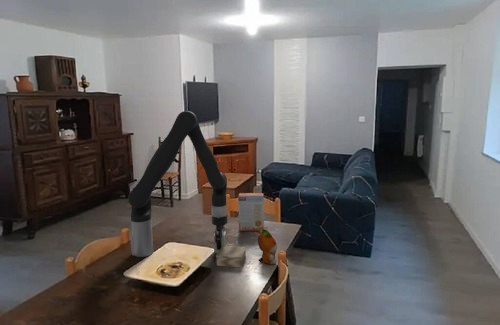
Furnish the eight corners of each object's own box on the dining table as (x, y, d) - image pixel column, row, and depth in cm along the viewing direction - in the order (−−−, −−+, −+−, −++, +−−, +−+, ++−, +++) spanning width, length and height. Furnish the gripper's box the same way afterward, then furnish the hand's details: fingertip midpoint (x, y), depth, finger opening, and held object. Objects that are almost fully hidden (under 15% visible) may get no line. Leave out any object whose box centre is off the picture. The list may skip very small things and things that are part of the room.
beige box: (216, 266, 163) (216, 255, 162) (222, 255, 174) (222, 245, 173) (241, 268, 161) (241, 257, 160) (246, 257, 172) (246, 247, 171)
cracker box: (264, 228, 209) (264, 192, 206) (263, 231, 203) (263, 195, 200) (240, 227, 211) (239, 192, 207) (238, 231, 205) (238, 195, 201)
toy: (275, 266, 161) (275, 234, 158) (255, 265, 163) (255, 233, 160) (278, 256, 172) (278, 225, 169) (260, 254, 173) (259, 224, 171)
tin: (214, 252, 176) (213, 235, 175) (216, 248, 181) (215, 231, 180) (224, 253, 176) (224, 235, 174) (226, 248, 181) (226, 231, 179)
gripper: (214, 209, 183) (215, 240, 186) (208, 218, 169) (210, 252, 172) (229, 209, 182) (229, 241, 185) (224, 218, 168) (225, 252, 171)
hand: (220, 246), depth 178 cm, fingers open, 6 cm apart
